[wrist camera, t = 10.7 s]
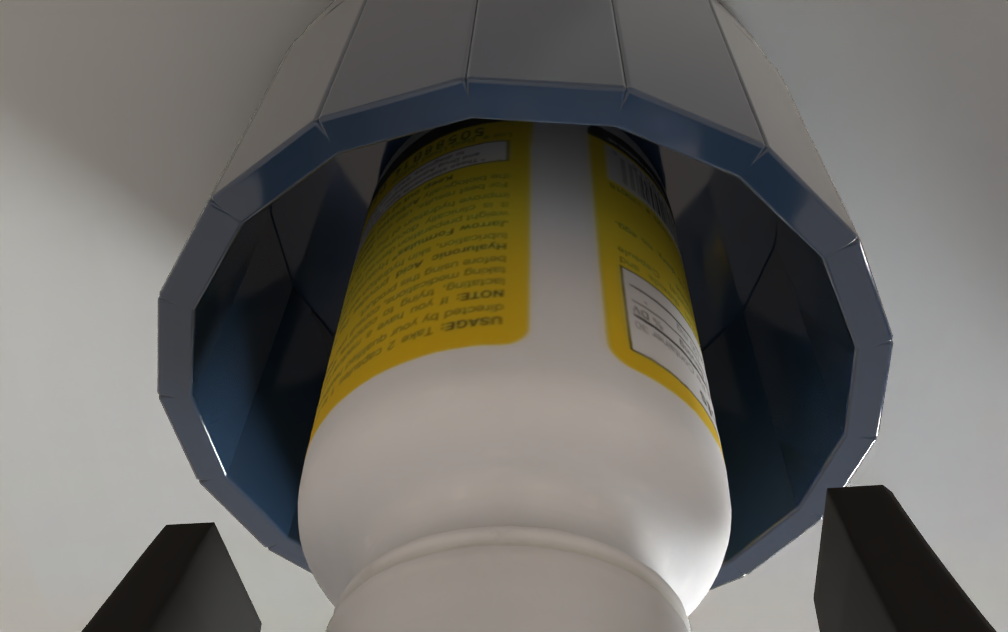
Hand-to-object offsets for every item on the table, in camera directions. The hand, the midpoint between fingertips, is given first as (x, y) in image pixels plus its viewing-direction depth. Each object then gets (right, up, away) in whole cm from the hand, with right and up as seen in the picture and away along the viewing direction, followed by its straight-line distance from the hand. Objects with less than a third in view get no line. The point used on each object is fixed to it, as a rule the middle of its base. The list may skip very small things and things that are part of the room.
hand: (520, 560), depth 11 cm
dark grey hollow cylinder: (0, +5, +6) cm, 8 cm away
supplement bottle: (0, +5, +6) cm, 8 cm away
